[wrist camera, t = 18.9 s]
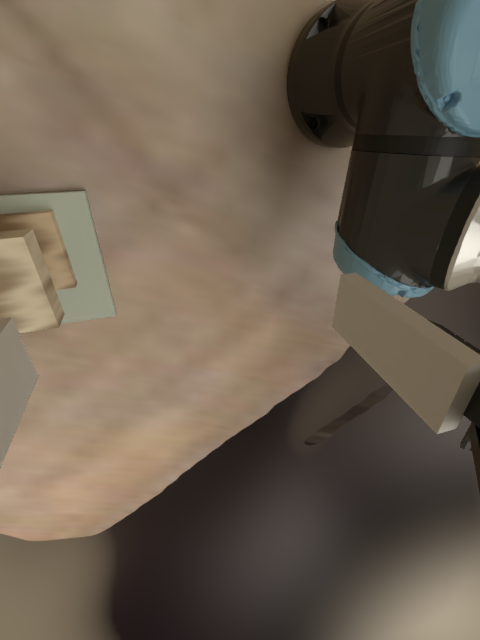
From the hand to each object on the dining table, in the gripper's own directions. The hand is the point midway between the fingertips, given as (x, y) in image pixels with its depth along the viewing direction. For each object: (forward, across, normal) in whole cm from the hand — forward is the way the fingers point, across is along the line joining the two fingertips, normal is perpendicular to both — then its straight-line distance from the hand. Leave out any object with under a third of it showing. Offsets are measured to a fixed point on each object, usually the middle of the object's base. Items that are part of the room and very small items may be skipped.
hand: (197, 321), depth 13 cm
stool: (+28, +18, +1) cm, 33 cm away
